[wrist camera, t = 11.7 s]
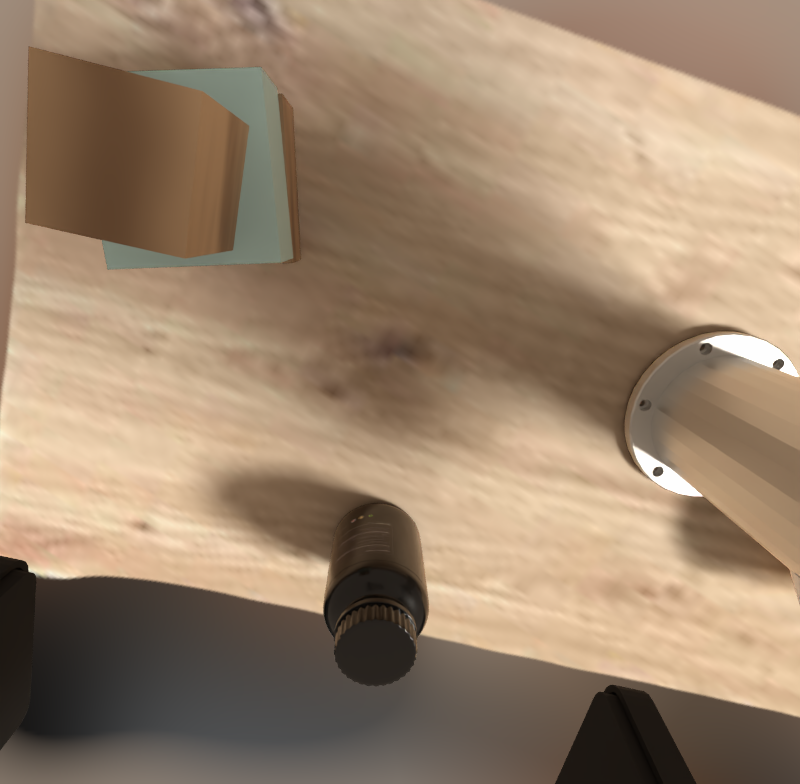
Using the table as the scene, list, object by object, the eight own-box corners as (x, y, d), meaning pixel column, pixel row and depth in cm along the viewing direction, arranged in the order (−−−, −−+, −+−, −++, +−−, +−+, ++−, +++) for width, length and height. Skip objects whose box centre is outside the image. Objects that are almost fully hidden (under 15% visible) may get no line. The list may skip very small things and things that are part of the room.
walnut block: (249, 125, 26) (202, 91, 19) (233, 250, 27) (185, 258, 21) (122, 93, 25) (28, 46, 18) (114, 223, 27) (25, 222, 20)
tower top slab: (277, 88, 29) (261, 67, 25) (293, 258, 31) (281, 262, 28) (110, 93, 29) (68, 73, 25) (141, 264, 31) (107, 269, 27)
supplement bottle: (432, 559, 42) (450, 683, 31) (352, 585, 43) (341, 716, 31) (403, 487, 40) (412, 591, 29) (320, 515, 41) (296, 628, 29)
